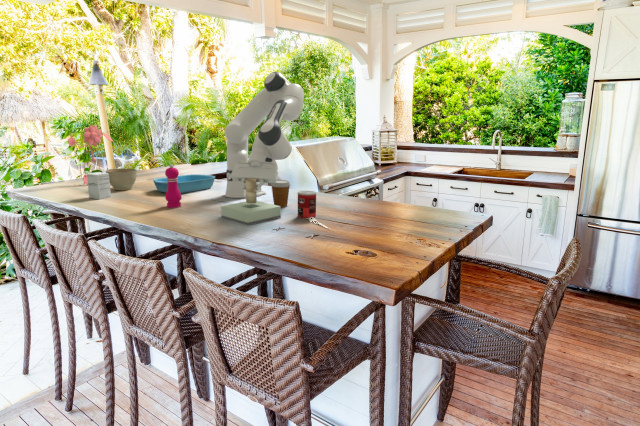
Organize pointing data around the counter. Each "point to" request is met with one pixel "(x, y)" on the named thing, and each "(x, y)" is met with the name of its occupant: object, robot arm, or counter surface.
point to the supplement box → (98, 185)
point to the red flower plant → (90, 142)
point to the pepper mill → (172, 188)
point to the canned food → (306, 204)
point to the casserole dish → (187, 183)
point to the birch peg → (251, 190)
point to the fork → (317, 223)
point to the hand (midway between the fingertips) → (250, 189)
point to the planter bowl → (122, 178)
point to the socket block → (250, 212)
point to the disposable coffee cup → (280, 192)
